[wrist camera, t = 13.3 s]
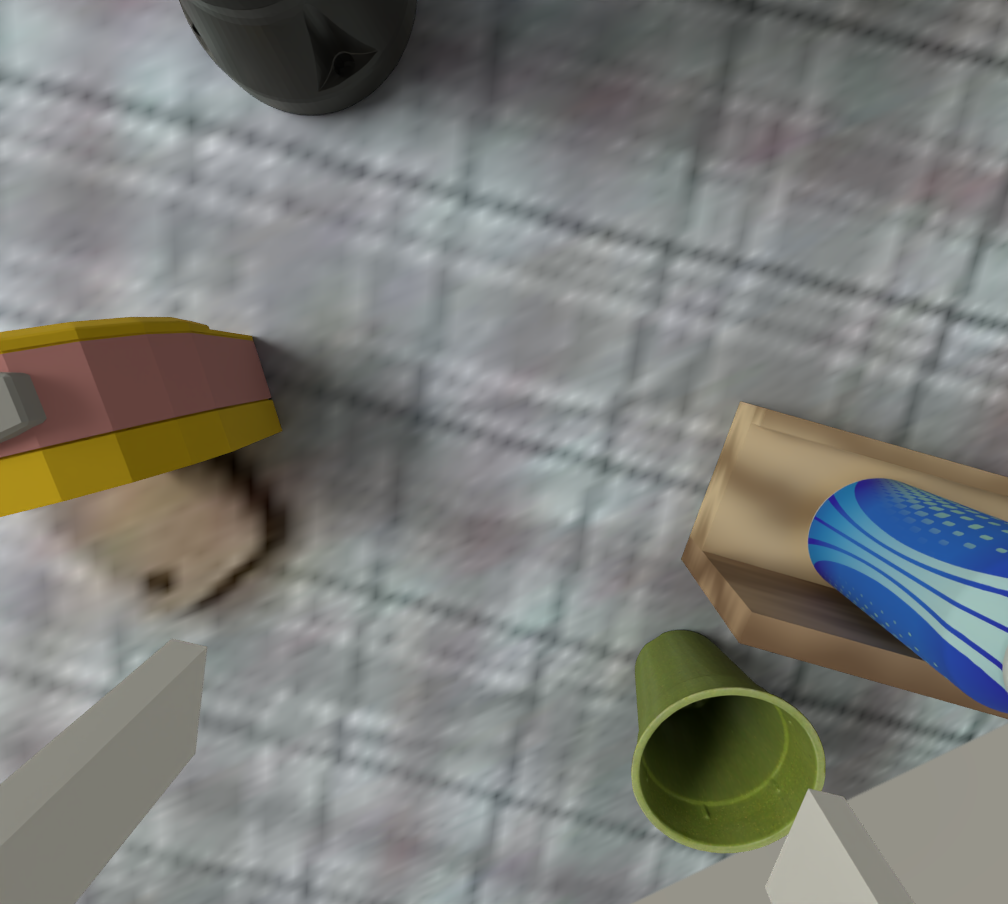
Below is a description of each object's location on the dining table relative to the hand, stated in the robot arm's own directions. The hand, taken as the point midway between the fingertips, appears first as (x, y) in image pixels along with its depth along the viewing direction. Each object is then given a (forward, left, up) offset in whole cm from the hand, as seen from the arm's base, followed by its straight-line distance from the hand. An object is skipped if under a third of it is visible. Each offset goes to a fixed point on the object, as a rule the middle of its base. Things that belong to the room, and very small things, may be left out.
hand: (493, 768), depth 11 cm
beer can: (-3, +24, -28) cm, 37 cm away
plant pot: (+13, +17, -31) cm, 37 cm away
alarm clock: (+2, -26, -31) cm, 40 cm away
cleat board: (-2, +24, -30) cm, 39 cm away
